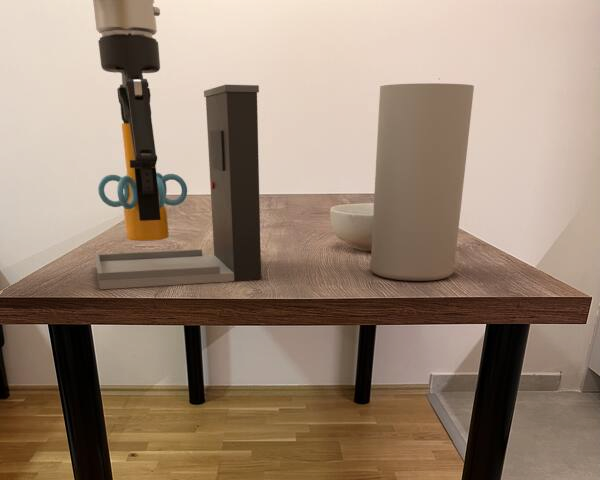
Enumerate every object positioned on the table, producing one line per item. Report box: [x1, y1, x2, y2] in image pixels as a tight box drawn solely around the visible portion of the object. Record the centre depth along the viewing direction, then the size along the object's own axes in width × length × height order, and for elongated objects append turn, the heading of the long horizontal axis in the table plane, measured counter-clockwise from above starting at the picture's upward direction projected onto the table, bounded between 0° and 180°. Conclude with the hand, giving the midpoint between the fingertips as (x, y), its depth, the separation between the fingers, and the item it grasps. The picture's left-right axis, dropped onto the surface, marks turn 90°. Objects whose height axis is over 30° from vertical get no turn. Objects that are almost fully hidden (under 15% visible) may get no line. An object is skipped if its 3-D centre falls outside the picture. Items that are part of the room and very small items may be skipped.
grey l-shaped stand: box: [94, 84, 262, 290], centre depth 91 cm, size 23×16×25 cm
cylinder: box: [97, 123, 188, 242], centre depth 89 cm, size 12×10×15 cm
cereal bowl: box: [329, 202, 374, 252], centre depth 116 cm, size 17×17×7 cm
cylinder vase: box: [370, 82, 475, 282], centre depth 91 cm, size 12×12×25 cm
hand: (145, 215), depth 91 cm, fingers closed on cylinder, 11 cm apart
